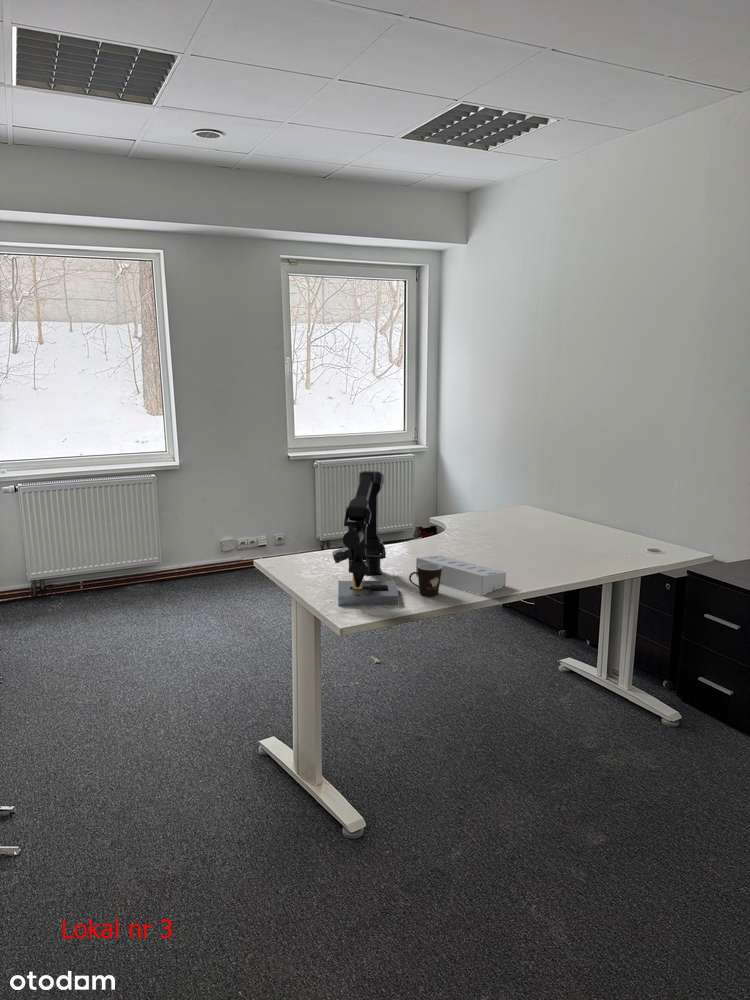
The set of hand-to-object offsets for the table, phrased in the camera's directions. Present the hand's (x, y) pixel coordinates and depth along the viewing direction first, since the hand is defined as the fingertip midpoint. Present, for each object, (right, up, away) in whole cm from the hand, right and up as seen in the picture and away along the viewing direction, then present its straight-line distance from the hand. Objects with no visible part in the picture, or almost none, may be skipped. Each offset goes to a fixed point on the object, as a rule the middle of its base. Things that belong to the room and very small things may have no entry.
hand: (357, 584), depth 238 cm
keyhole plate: (+3, -4, +1) cm, 6 cm away
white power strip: (+37, -2, +19) cm, 42 cm away
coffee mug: (+23, -4, +5) cm, 24 cm away
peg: (0, -4, +1) cm, 4 cm away
